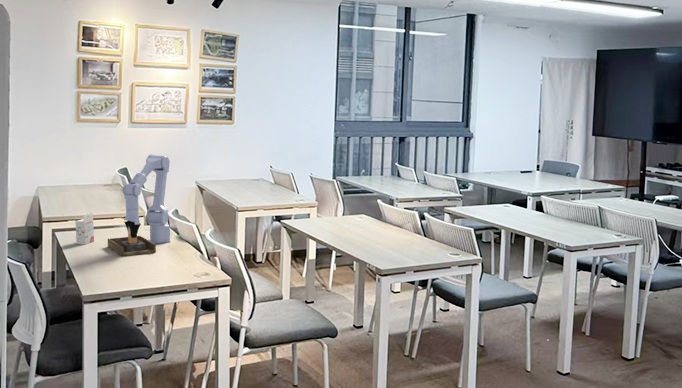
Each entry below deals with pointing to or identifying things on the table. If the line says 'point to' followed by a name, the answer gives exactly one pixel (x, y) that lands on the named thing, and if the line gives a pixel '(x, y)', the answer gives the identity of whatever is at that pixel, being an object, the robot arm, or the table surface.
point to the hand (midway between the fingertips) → (132, 236)
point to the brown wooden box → (131, 246)
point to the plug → (130, 239)
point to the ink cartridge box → (85, 230)
